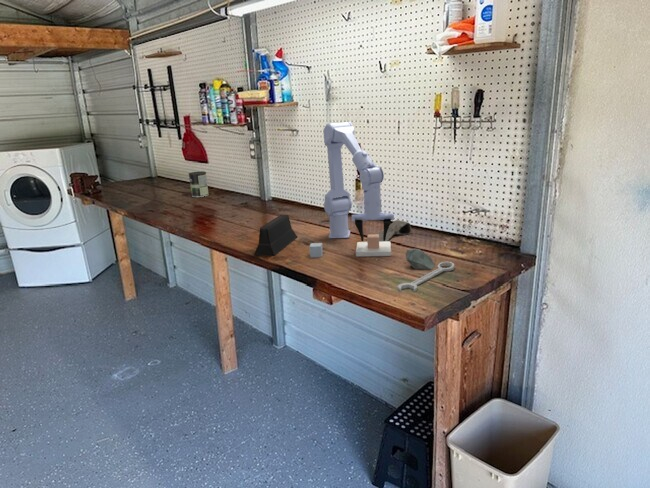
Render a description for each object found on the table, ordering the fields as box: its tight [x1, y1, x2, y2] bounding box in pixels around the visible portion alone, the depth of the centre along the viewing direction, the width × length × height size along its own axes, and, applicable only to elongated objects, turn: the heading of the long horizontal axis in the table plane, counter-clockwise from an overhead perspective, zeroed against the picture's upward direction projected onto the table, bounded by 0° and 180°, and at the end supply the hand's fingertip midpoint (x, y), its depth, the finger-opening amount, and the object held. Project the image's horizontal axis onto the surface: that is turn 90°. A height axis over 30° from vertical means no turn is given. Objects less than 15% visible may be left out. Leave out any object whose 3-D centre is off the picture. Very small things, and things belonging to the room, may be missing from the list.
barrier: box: [253, 214, 299, 257], centre depth 179 cm, size 24×9×10 cm, turn 163°
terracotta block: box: [366, 233, 379, 249], centre depth 167 cm, size 4×4×4 cm
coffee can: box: [188, 171, 210, 198], centre depth 288 cm, size 10×10×14 cm
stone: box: [405, 248, 435, 271], centre depth 152 cm, size 11×4×10 cm
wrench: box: [397, 261, 455, 293], centre depth 140 cm, size 26×6×2 cm, turn 135°
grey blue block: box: [308, 242, 324, 258], centre depth 166 cm, size 4×4×4 cm
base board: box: [355, 240, 392, 257], centre depth 168 cm, size 12×12×2 cm
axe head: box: [364, 219, 412, 242], centre depth 183 cm, size 21×5×10 cm
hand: (373, 240), depth 167 cm, fingers open, 7 cm apart
